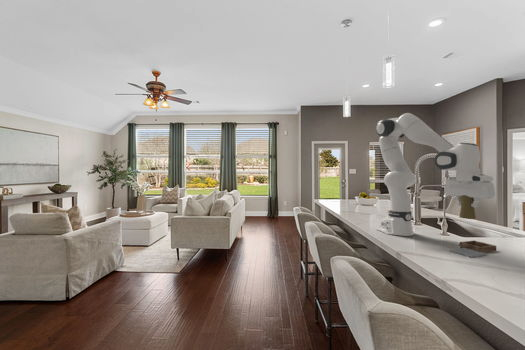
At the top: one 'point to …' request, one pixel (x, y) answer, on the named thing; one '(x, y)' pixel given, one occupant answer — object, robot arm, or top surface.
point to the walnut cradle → (478, 246)
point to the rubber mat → (467, 252)
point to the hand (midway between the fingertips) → (467, 206)
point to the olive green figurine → (467, 208)
